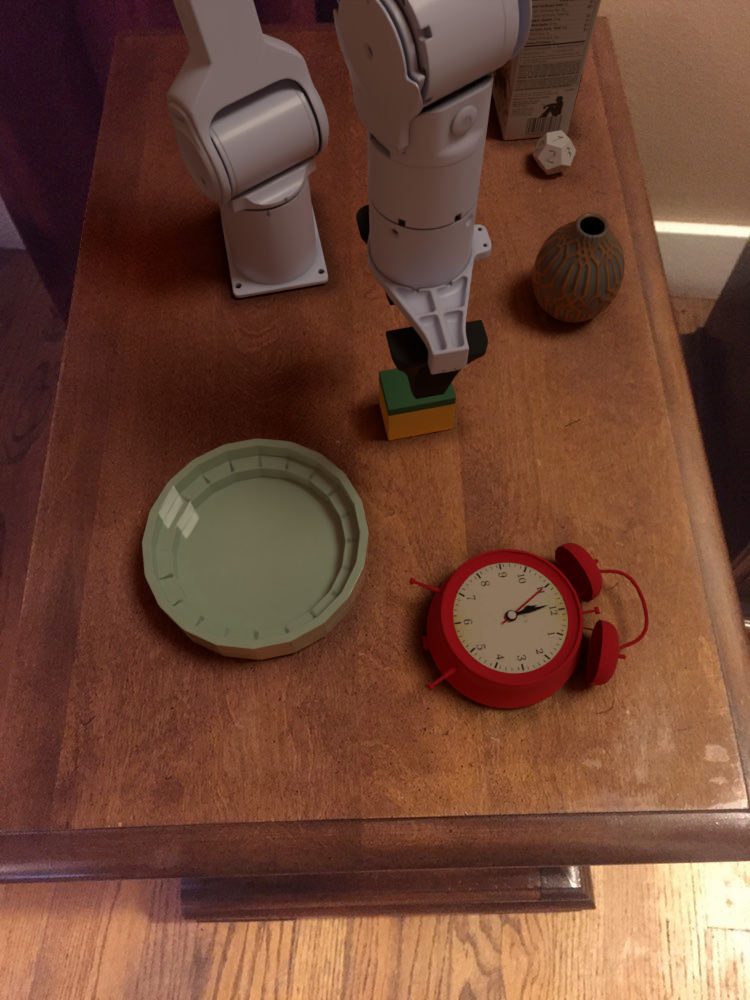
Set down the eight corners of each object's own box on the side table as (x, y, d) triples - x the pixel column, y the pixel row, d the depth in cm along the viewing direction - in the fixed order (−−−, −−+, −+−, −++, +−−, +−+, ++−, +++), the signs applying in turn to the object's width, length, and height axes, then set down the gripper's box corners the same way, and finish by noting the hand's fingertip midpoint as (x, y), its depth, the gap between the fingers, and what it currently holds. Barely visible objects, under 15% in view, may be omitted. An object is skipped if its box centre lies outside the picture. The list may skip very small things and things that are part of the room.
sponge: (388, 441, 62) (388, 410, 58) (379, 403, 64) (378, 371, 60) (452, 429, 63) (456, 397, 58) (441, 392, 64) (445, 358, 60)
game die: (523, 161, 74) (528, 134, 72) (556, 146, 75) (562, 118, 72) (545, 186, 73) (551, 159, 70) (579, 170, 74) (586, 143, 71)
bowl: (147, 482, 61) (134, 460, 58) (347, 445, 62) (344, 421, 59) (166, 681, 55) (152, 669, 52) (388, 636, 56) (388, 621, 53)
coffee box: (485, 75, 79) (506, -108, 64) (550, 69, 79) (587, -115, 65) (501, 143, 75) (528, -35, 61) (570, 136, 75) (614, -43, 61)
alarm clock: (399, 556, 54) (626, 502, 52) (417, 583, 60) (622, 536, 58) (427, 713, 50) (676, 663, 48) (443, 726, 56) (667, 682, 53)
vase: (607, 342, 66) (637, 268, 58) (521, 329, 66) (539, 253, 58) (614, 275, 69) (643, 196, 61) (532, 263, 69) (550, 183, 61)
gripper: (537, 283, 39) (502, 425, 52) (464, 81, 46) (448, 251, 58) (395, 308, 39) (393, 446, 51) (339, 101, 45) (350, 268, 57)
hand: (415, 344), depth 55 cm, fingers open, 7 cm apart
